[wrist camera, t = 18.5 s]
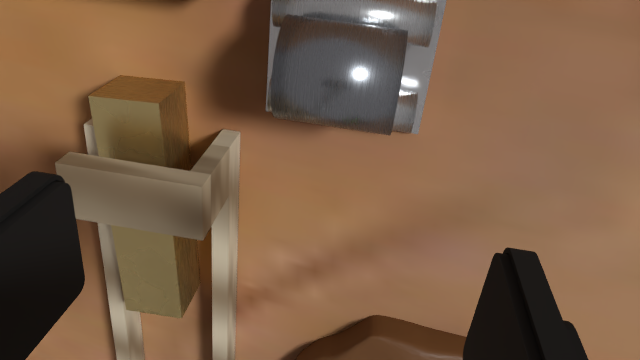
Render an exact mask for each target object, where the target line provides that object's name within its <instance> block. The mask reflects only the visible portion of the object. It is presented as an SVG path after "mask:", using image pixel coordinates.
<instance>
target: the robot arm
mask: <svg viewBox="0 0 640 360" xmlns="http://www.w3.org/2000/svg"><path fill="white" fill-rule="evenodd" d="M84 281H85V276H84V269H83V262H82V256H81V249H80V243H79V236H78V230H77V223H76V217H75V210H74V203H73V197H72V190H71V187H70V185H69V184H68V183H65V181H64V179H63V177H61V176H60V175H55V174H49V173H43V172H37V171H36V172H31V173H29V174H27V175H26V176H25V177H23V178H22V179H20V180H19V181H18V182H16V183H15V184H14V185H12V186H11V187H9V188H8V189H7V190H5V191H4V192H2V193H1V194H0V360H25V359H26V358H27V357H28V356H29V354H30V353H31V352H32V351H33V350H34V348H35V347H36V346H37V345H38V344H39V342H40V341H41V340H42V339H43V338H44V336H45V335H46V334H47V333H48V331H49V330H50V329H51V328H52V327H53V325H54V324H55V323H56V322H57V321H58V319H59V318H60V317H61V316H62V315H63V313H64V312H65V311H66V310H67V308H68V307H69V306H70V305H71V304H72V302H73V301H74V300H75V299H76V298H77V296H78V295H79V294H80V292H81V291H82V289H83V286H84ZM463 360H588V358H587V355H586V353H585V350H584V348H583V346H582V343H581V341H580V338H579V336H578V333H577V331H576V329H575V327H574V326H573V324H571V323H570V322H569V321H563V320H562V317H561V314H560V312H559V309H558V307H557V304H556V302H555V299H554V297H553V294H552V291H551V289H550V286H549V284H548V281H547V279H546V276H545V274H544V271H543V268H542V266H541V263H540V261H539V258H538V256H537V254H536V253H535V252H532V251H526V250H519V249H513V248H506V249H505V250H504V252H503V254H501V253H495V255H494V256H493V259H492V262H491V265H490V268H489V271H488V274H487V277H486V280H485V283H484V286H483V289H482V292H481V295H480V298H479V301H478V304H477V307H476V310H475V314H474V317H473V320H472V323H471V326H470V329H469V332H468V335H467V338H466V341H465V344H464V349H463Z"/></svg>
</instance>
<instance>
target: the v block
mask: <svg viewBox="0 0 640 360" xmlns="http://www.w3.org/2000/svg"><path fill="white" fill-rule="evenodd" d="M445 5H446V0H271V14H270V34H269V54H268V74H267V95H266V111H268V112H272V107H271V79H272V68H273V60H274V53H275V48H276V42H277V38H278V34H279V30H280V27H281V24H282V21H283V19H284V17H285V16H286V15H287V14H291V15H298V16H306V17H313V18H321V19H328V20H336V21H343V22H350V23H358V24H365V25H373V26H380V27H387V28H395V29H402V30H408V38H407V47H406V54H405V61H404V68H403V74H402V80H401V86H400V92H399V98H398V103H397V108H396V114H395V118H394V123H393V128H392V131H399V132H405V133H414V134H418V132H419V127H420V122H421V118H422V113H423V108H424V103H425V99H426V94H427V89H428V85H429V80H430V75H431V71H432V66H433V61H434V56H435V52H436V47H437V42H438V38H439V33H440V28H441V24H442V19H443V14H444V10H445Z"/></svg>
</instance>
